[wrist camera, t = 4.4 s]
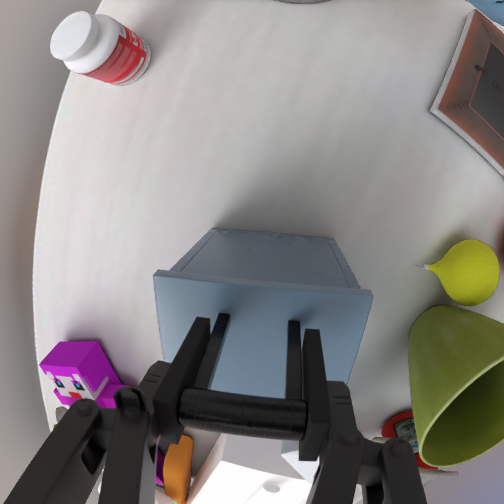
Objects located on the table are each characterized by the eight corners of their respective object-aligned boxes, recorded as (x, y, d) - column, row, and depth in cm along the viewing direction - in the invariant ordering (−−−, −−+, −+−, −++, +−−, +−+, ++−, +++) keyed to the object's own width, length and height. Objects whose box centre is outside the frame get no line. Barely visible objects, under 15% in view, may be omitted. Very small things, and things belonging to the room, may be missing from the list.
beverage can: (428, 411, 37) (451, 468, 25) (403, 437, 39) (418, 493, 27) (397, 404, 37) (418, 467, 25) (372, 432, 39) (384, 493, 27)
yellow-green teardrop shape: (470, 307, 29) (404, 277, 32) (491, 253, 28) (425, 220, 31) (494, 321, 23) (416, 285, 25) (518, 256, 22) (443, 215, 24)
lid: (157, 268, 18) (80, 360, 10) (371, 289, 17) (416, 400, 9) (178, 417, 23) (148, 498, 15) (324, 434, 22) (326, 521, 14)
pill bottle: (163, 52, 27) (112, 15, 16) (128, 96, 28) (66, 78, 18) (128, 30, 26) (74, -4, 15) (96, 72, 28) (34, 52, 17)
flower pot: (440, 249, 29) (527, 315, 14) (497, 312, 31) (561, 379, 16) (356, 345, 34) (386, 450, 19) (424, 389, 35) (461, 474, 20)
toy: (117, 475, 44) (28, 363, 34) (127, 454, 49) (48, 341, 39) (181, 486, 41) (93, 368, 31) (189, 461, 47) (113, 340, 37)
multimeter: (182, 473, 34) (159, 466, 34) (182, 512, 39) (164, 507, 40) (195, 432, 42) (175, 426, 42) (191, 479, 48) (175, 475, 48)
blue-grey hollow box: (212, 227, 32) (164, 274, 19) (334, 238, 31) (364, 293, 18) (210, 338, 36) (178, 417, 23) (315, 349, 35) (324, 434, 22)
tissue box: (193, 479, 47) (180, 522, 37) (231, 414, 39) (217, 474, 29) (261, 498, 47) (255, 540, 37) (321, 438, 40) (324, 496, 29)
